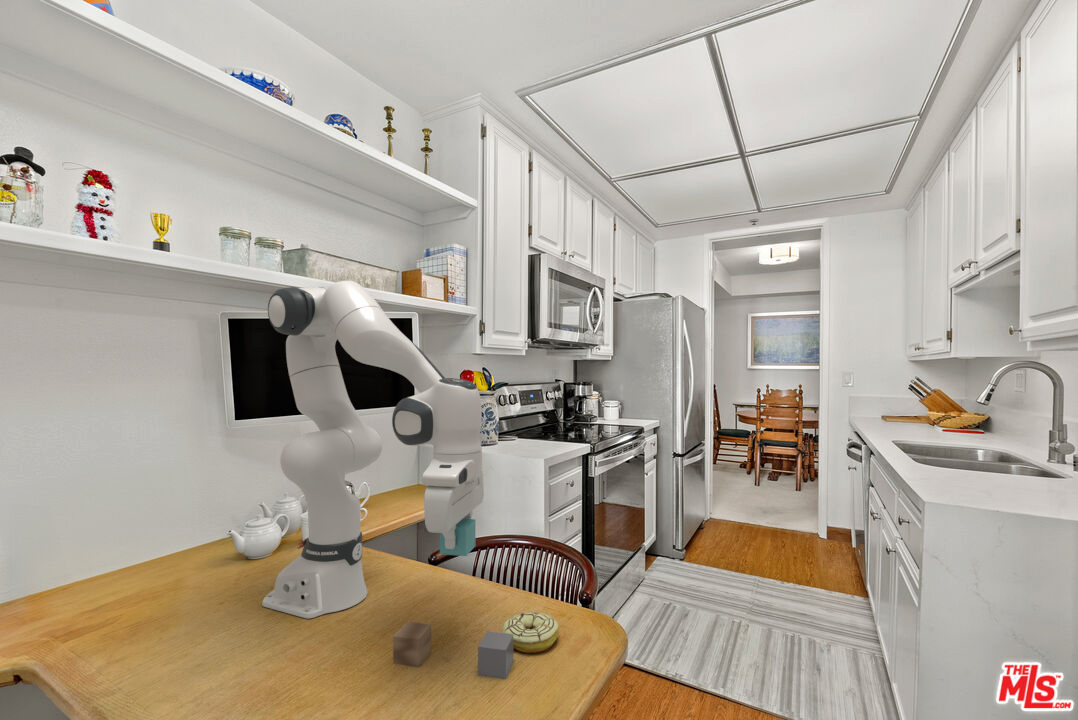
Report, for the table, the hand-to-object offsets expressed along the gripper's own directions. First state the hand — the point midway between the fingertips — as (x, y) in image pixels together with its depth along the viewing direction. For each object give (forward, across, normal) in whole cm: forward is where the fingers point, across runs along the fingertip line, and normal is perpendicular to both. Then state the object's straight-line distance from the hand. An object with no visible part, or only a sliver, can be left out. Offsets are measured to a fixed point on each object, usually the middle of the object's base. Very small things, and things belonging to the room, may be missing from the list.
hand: (457, 541), depth 89 cm
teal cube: (+2, 0, 0) cm, 2 cm away
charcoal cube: (+21, +2, +8) cm, 23 cm away
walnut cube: (+21, +2, -8) cm, 23 cm away
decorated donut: (+22, -8, +12) cm, 26 cm away
